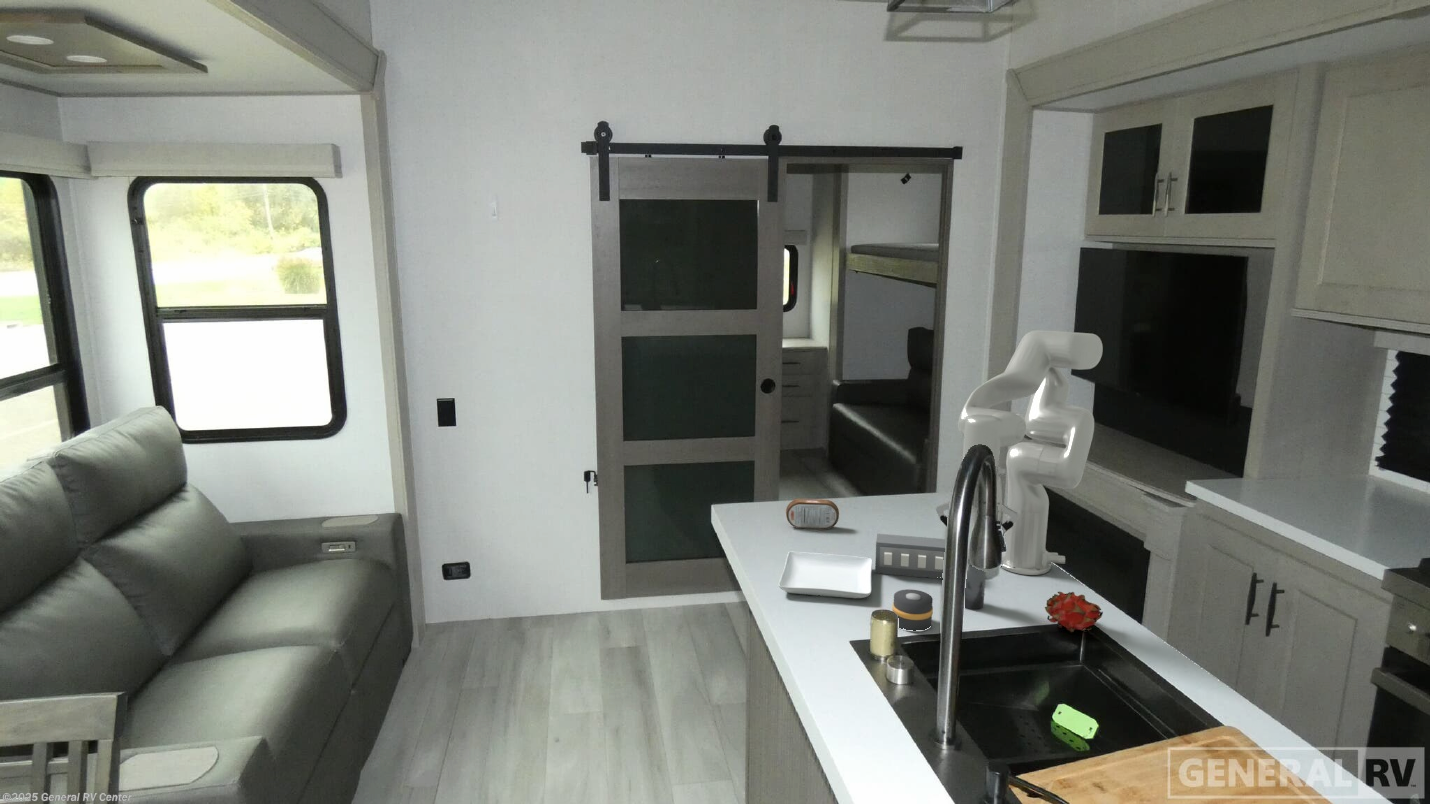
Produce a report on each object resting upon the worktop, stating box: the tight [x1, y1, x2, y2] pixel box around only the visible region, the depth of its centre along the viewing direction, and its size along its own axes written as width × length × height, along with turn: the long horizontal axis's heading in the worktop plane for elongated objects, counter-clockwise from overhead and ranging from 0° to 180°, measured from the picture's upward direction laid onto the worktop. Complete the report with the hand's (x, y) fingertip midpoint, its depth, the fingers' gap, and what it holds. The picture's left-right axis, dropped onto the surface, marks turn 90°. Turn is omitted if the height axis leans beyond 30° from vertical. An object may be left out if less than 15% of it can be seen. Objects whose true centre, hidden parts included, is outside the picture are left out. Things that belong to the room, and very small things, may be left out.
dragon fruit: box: [1044, 591, 1104, 633], centre depth 169 cm, size 8×8×12 cm
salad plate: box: [778, 550, 873, 599], centre depth 193 cm, size 21×21×3 cm
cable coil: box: [892, 588, 934, 631], centre depth 171 cm, size 8×8×6 cm
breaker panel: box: [874, 533, 946, 580], centre depth 197 cm, size 18×8×8 cm, turn 76°
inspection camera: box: [964, 558, 987, 611], centre depth 179 cm, size 5×5×10 cm
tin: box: [785, 498, 840, 530], centre depth 228 cm, size 15×3×8 cm, turn 84°
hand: (974, 546), depth 177 cm, fingers open, 9 cm apart
